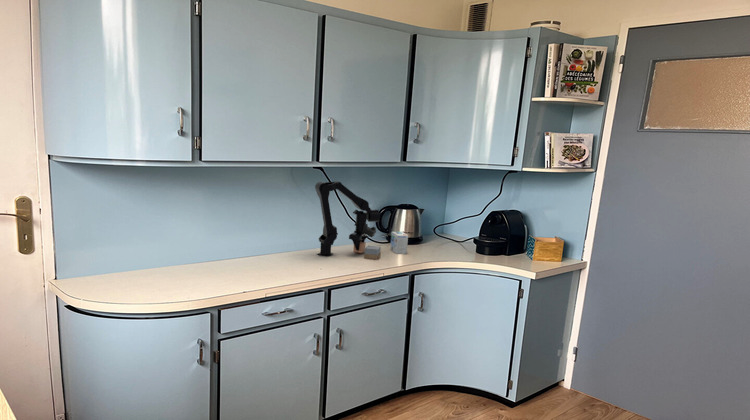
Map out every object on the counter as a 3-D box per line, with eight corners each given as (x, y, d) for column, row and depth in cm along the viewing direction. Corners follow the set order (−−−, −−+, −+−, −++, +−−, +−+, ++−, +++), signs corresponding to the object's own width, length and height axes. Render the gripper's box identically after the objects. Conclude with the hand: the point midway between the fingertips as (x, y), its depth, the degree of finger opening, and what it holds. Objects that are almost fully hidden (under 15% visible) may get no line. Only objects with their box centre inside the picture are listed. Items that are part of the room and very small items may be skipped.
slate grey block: (377, 255, 264) (377, 249, 263) (364, 253, 265) (364, 248, 265) (380, 252, 271) (380, 246, 270) (367, 250, 272) (368, 245, 272)
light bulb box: (389, 249, 290) (391, 231, 289) (400, 249, 292) (402, 231, 291) (396, 254, 280) (397, 235, 278) (407, 253, 282) (408, 235, 281)
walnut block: (376, 260, 264) (376, 255, 264) (363, 258, 266) (364, 253, 266) (380, 257, 271) (380, 252, 270) (368, 256, 273) (368, 250, 272)
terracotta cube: (361, 252, 274) (362, 244, 273) (353, 251, 276) (353, 242, 275) (365, 251, 279) (365, 242, 278) (356, 249, 280) (357, 241, 279)
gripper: (368, 226, 263) (366, 255, 266) (380, 221, 281) (378, 248, 283) (349, 223, 267) (347, 252, 269) (362, 218, 284) (360, 245, 287)
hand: (359, 249), depth 277 cm, fingers closed on terracotta cube, 5 cm apart
